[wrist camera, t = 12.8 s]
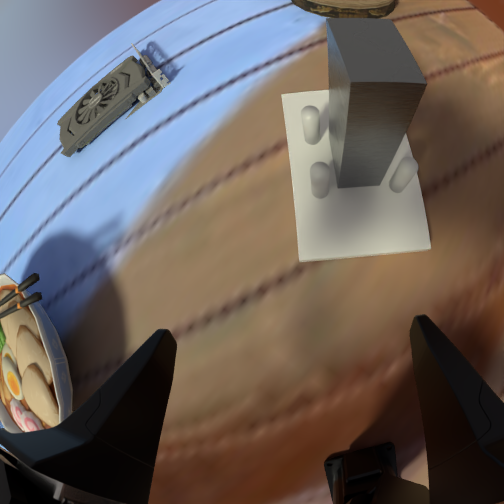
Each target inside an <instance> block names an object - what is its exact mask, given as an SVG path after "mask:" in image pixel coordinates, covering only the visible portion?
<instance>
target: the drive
mask: <svg viewBox="0 0 504 504" xmlns="http://www.w3.org/2000/svg"><path fill="white" fill-rule="evenodd" d="M326 24H327V42H328V68H329V141H330V146H331V152H332V157H333V163H334V169H335V175H336V181H337V188H338V189H339V188H352V187H366V186H380V184H381V182H382V180H383V178H384V176H385V174H386V172H387V170H388V168H389V166H390V164H391V162H392V160H393V158H394V156H395V154H396V152H397V150H398V148H399V146H400V144H401V142H402V140H403V137H404V135H405V133H406V131H407V129H408V127H409V125H410V122H411V120H412V118H413V116H414V113H415V111H416V109H417V107H418V104H419V102H420V100H421V97H422V95H423V92H424V90H425V88H426V85H427V83H426V81H425V79H424V76H423V74H422V72H421V70H420V69H419V67H418V65H417V63H416V61H415V59H414V57H413V55H412V54H411V52H410V50H409V48H408V46H407V45H406V43H405V41H404V40H403V38H402V36H401V35H400V33H399V31H398V30H397V28H396V27H395V25H394V24H393V22H392V21H391V20H390V19H374V18H326Z"/></svg>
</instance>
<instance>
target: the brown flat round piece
mask: <svg viewBox="0 0 504 504" xmlns="http://www.w3.org/2000/svg"><path fill="white" fill-rule="evenodd" d="M291 1H292V2H293V3H294V4H295V5H296V6H298V7H300V8H301V9H303V10H305V11H307V12H311V13H314V14H317V15H320V16H324V17H330V18H374V19H378V18H382V17H385V16H388V15H389V14H390V13H391V12H392V11H393V10H394V4H395V0H291Z"/></svg>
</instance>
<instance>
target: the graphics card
mask: <svg viewBox="0 0 504 504" xmlns="http://www.w3.org/2000/svg"><path fill="white" fill-rule="evenodd" d="M131 44H132V43H131ZM132 46H133V47H134V49H135V50H136V52H137V53H138V55H139V56H140V60H139V61H140V63H141V65H142V66H143V67H142V66H141V65H139V64H137V63H136V62H137V61H138V60H137V59H136V58H135V57H134V56H130V57H128V58H127V59H126V60H124V61H123V62H122V63H121V64H119V65H118V66H117V67H116V68H114V69H113V70H112V71H111V72H110V73H108V74H107V75H106V76H105V77H104V78H102V79H101V80H100V81H99V82H98V83H97V84H96V85H94V86H93V87H92V88H91V89H90V90H89V91H88V92H87V93H86V94H85V95H84V96H82V97H81V98H80V99H79V100H78V101H77V102H76V103H75V104H74V105H73V106H72V107H71V108H70V109H69V110H68V111H67V112H66V113H65V114H64V115H63V116H62V118H61V119H60V120H59V121H58V123H57V124H58V125H59V126H61V129H60V141H61V143H62V145H63V147H64V149H63V151H62V152H61V154H63V155H65V156H67V157H70V156H71V155H72V154H73V153H74V152H75V151H76V150H77V149H78V148H83V147H84V146H85V145H88V144H89V143H90V142H91V141H92V140H93V139H94V138H95V137H97V136H98V135H99V134H100V133H101V132H102V131H103V130H104V129H105V128H107V127H108V126H109V125H110V124H111V123H112V122H113V121H115V120H116V119H117V118H118V117H119V116H121V115H122V114H123V113H124V112H125V111H127V110H128V109H129V108H130V107H132V103H133V102H134V101H135V100H136V97H137V96H138V99H139V100H140V102H139V103H138V104H137V106H136V107H135V108H134V109H133V110H132V112H131V113H130V114H129V115H128V117H129V116H130V115H132V114H133V113H134V112H135V111H137V110H138V109H139V108H140V107H142V106H143V105H144V104H146V103H147V102H148V101H150V100H151V99H152V98H154V97H155V96H156V95H158V94H159V93H160V92H161V91H162V89H163V88H165V87H166V86H167V85H169V84H170V83H168V84H167V82H168V81H169V80H168V79H167V77H166V76H165V75H164V74H163V75H160V74H161V73H162V71H161V70H160V69H158V70H157V69H156V68H155V66H154V65H152V62H151V60H150V59H149V58H148V56H147V55H144V56H142V55H141V53H140V52H139V51H138V50H137V49H136V47H135V46H134V45H133V44H132ZM147 63H148V64H147ZM149 66H150V67H149ZM146 67H147V71H146V72H147V74H148V75H149V77H151V76H153V77H152V78H151V79H150V80H149V79H148V78H147V77H146V76H145V68H146ZM152 71H153V72H152ZM160 77H162V78H163V80H160ZM150 81H151V83H152V84H153V87H152V86H150ZM149 86H150V87H149ZM147 88H148V89H147ZM100 90H101V91H100ZM144 90H145V91H146V93H147V94H146V93H145V92H144ZM159 90H160V91H159ZM97 92H98V94H96V93H97ZM95 94H96V95H95ZM92 97H93V98H92ZM128 117H127V118H128ZM127 118H126V119H127ZM71 133H73V134H74V135H72V134H71Z"/></svg>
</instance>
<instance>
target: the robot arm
mask: <svg viewBox="0 0 504 504" xmlns="http://www.w3.org/2000/svg"><path fill="white" fill-rule="evenodd" d="M410 341H411V349H412V358H413V367H414V375H415V380H416V385H417V390H418V396H419V401H420V407H421V413H422V420H423V426H424V434H425V442H426V451H427V461H428V476H429V490H428V488H427V487H426V486H424V485H421V484H417V483H414V482H411V481H408V480H405V479H402V478H399V477H397V466H396V456H395V447H394V444H393V443H392V442H388V443H385V444H382V445H379V446H375V447H370V448H366V449H363V450H359V451H356V452H352V453H348V454H345V455H343V456H338V457H334V458H330V459H327V460H325V462H324V467H325V471H326V476H327V480H328V484H329V488H330V493H331V497H332V501H333V504H504V403H503V402H502V400H501V399H500V398H499V397H498V396H497V395H496V394H495V393H494V391H493V390H492V389H491V388H490V387H489V386H488V384H487V383H486V382H485V381H484V380H482V377H481V376H480V375H479V373H478V372H477V371H476V370H475V369H474V367H473V366H472V365H471V364H470V363H469V362H468V360H467V359H466V358H465V357H464V356H463V355H462V353H461V352H460V351H459V350H458V349H457V348H456V347H455V346H454V344H453V343H452V342H451V341H450V340H449V339H448V338H447V337H446V336H445V334H444V333H443V332H442V331H441V330H440V329H439V328H438V327H437V326H436V325H435V324H434V323H433V322H432V320H431V319H430V318H429V317H428V316H427V315H425V314H422V315H416V316H415V317H414V319H413V322H412V325H411V328H410ZM176 351H177V343H176V340H175V339H174V337H173V336H172V334H171V332H170V331H169V330H168V329H158V330H157V331H156V332H155V333H154V334H153V335H152V336H151V337H150V338H149V339H148V340H147V341H146V342H145V343H144V344H143V345H142V346H141V347H140V348H139V349H138V350H137V351H136V352H135V353H134V354H133V355H132V356H131V357H130V358H129V359H128V360H127V361H126V362H125V363H124V364H123V365H122V366H121V367H120V368H119V369H118V370H117V371H116V372H115V373H114V374H113V375H112V376H111V377H110V378H109V379H108V380H107V381H106V382H105V383H104V384H103V385H102V386H101V387H100V388H99V389H98V390H97V391H96V392H95V393H94V394H93V395H92V396H91V397H90V398H89V399H88V400H87V401H86V402H85V403H83V404H82V405H81V406H80V407H79V408H78V409H77V410H75V411H74V412H73V413H72V414H71V415H69V416H68V417H67V418H66V419H65V420H63V421H62V422H61V423H60V424H58V425H56V426H54V427H52V428H48V429H42V430H36V431H30V432H23V433H10V432H9V431H7V430H6V429H4V428H1V429H0V444H1V445H2V446H3V447H5V448H6V449H7V450H8V451H9V452H8V451H6V450H5V449H3V448H2V447H0V504H148V500H149V494H150V488H151V483H152V477H153V472H154V466H155V461H156V456H157V450H158V446H159V441H160V436H161V431H162V426H163V422H164V417H165V412H166V408H167V403H168V399H169V395H170V390H171V386H172V381H173V375H174V366H175V358H176ZM389 446H391V447H390V448H389V449H387V447H389ZM11 453H12V454H11ZM328 463H332V464H330V465H328Z"/></svg>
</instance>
